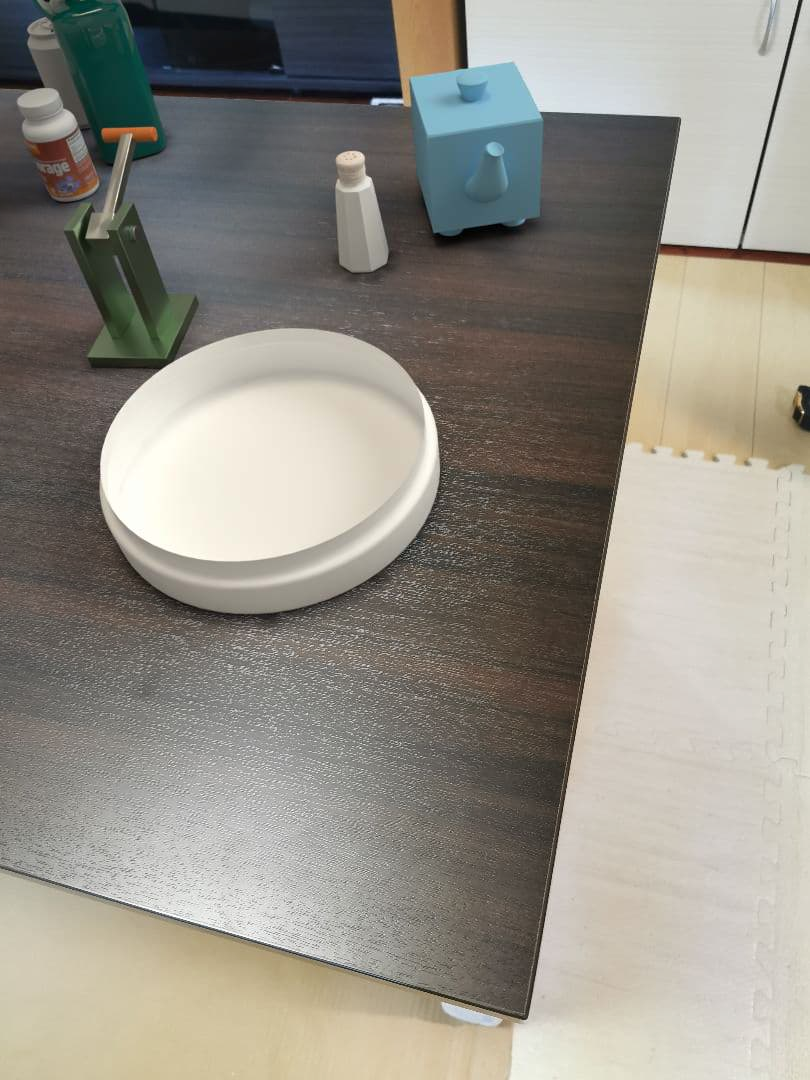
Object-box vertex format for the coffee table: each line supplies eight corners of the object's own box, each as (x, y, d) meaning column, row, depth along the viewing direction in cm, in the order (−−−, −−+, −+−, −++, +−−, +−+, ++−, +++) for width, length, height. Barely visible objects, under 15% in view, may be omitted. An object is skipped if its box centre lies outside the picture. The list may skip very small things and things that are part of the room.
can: (96, 134, 112) (59, 36, 102) (49, 130, 114) (9, 33, 104) (125, 107, 116) (92, 11, 107) (79, 104, 118) (43, 9, 109)
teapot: (414, 173, 98) (403, 45, 87) (508, 158, 98) (509, 29, 87) (443, 281, 84) (435, 146, 73) (553, 265, 84) (560, 127, 74)
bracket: (125, 303, 87) (77, 186, 77) (199, 303, 86) (159, 184, 76) (91, 366, 81) (33, 248, 71) (169, 368, 80) (122, 248, 70)
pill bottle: (40, 201, 102) (-2, 108, 93) (67, 175, 105) (29, 83, 97) (84, 205, 100) (45, 111, 92) (110, 179, 104) (74, 85, 95)
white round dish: (63, 603, 63) (32, 560, 59) (172, 367, 80) (153, 320, 75) (418, 628, 59) (411, 583, 55) (455, 373, 75) (453, 323, 71)
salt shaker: (396, 266, 87) (385, 162, 78) (346, 279, 86) (329, 176, 77) (381, 239, 90) (369, 137, 81) (333, 251, 89) (315, 150, 81)
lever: (111, 140, 80) (99, 120, 77) (161, 138, 79) (150, 118, 77) (83, 256, 76) (69, 238, 74) (135, 255, 75) (123, 238, 73)
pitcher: (157, 124, 112) (95, -72, 95) (171, 151, 107) (108, -51, 90) (85, 144, 110) (8, -52, 93) (95, 172, 105) (17, -30, 88)
